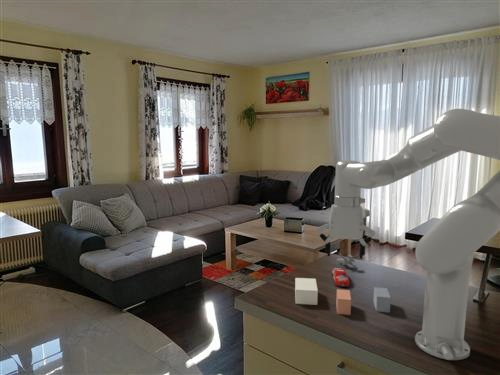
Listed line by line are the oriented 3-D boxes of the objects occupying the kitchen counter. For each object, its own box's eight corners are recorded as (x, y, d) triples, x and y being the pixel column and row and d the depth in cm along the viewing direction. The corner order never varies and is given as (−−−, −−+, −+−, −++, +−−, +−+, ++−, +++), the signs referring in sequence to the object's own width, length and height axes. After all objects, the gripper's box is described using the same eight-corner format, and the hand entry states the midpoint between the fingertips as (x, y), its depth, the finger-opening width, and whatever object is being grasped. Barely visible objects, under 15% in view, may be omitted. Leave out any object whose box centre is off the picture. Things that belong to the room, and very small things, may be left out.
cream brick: (317, 305, 118) (317, 290, 117) (295, 304, 118) (295, 289, 118) (315, 292, 127) (315, 278, 127) (295, 291, 128) (295, 277, 128)
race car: (350, 289, 130) (350, 278, 130) (334, 288, 131) (335, 277, 130) (345, 275, 143) (345, 265, 143) (331, 274, 144) (331, 264, 143)
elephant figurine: (351, 262, 157) (363, 262, 149) (344, 274, 155) (356, 274, 146) (333, 248, 156) (345, 247, 148) (327, 260, 154) (338, 259, 146)
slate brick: (389, 312, 112) (390, 297, 112) (376, 311, 113) (377, 296, 113) (386, 302, 119) (387, 288, 119) (373, 301, 120) (374, 287, 119)
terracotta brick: (350, 315, 111) (351, 299, 110) (337, 314, 112) (337, 298, 111) (349, 304, 118) (349, 290, 117) (336, 303, 119) (336, 289, 118)
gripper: (375, 200, 112) (372, 254, 114) (318, 198, 115) (316, 250, 118) (378, 205, 105) (375, 262, 107) (317, 202, 108) (315, 258, 111)
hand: (344, 256), depth 112 cm, fingers open, 9 cm apart
